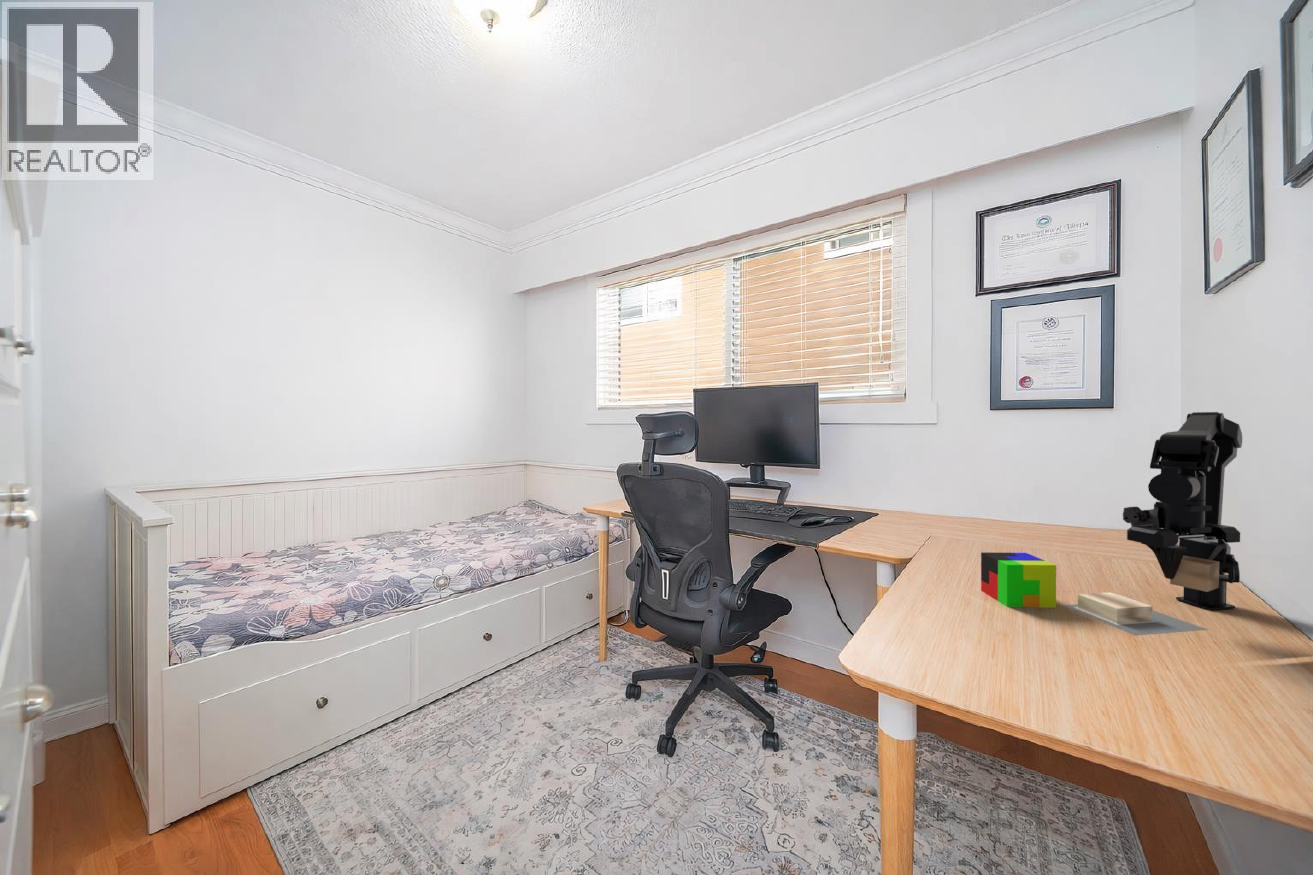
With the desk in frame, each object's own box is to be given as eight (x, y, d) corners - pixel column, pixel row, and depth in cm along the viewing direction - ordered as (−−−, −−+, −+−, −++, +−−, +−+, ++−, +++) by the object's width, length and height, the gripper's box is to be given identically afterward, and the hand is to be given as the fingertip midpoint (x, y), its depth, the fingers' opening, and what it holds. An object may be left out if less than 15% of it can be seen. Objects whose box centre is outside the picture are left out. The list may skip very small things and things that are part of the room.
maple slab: (1110, 605, 105) (1111, 592, 105) (1152, 620, 98) (1152, 606, 97) (1077, 608, 105) (1078, 594, 105) (1116, 623, 97) (1117, 608, 97)
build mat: (1125, 603, 108) (1125, 600, 108) (1209, 632, 93) (1209, 629, 93) (1060, 607, 106) (1060, 605, 106) (1135, 638, 92) (1135, 635, 92)
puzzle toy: (1025, 594, 115) (1025, 552, 115) (1055, 610, 105) (1056, 565, 105) (981, 593, 116) (981, 552, 116) (1006, 609, 106) (1007, 564, 106)
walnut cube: (1181, 580, 96) (1182, 555, 96) (1218, 587, 92) (1219, 561, 92) (1170, 583, 94) (1170, 558, 94) (1207, 591, 90) (1207, 565, 90)
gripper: (1173, 491, 104) (1172, 563, 104) (1098, 494, 101) (1097, 568, 101) (1243, 499, 93) (1241, 579, 93) (1161, 502, 90) (1160, 586, 90)
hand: (1181, 577), depth 95 cm, fingers closed on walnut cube, 5 cm apart
